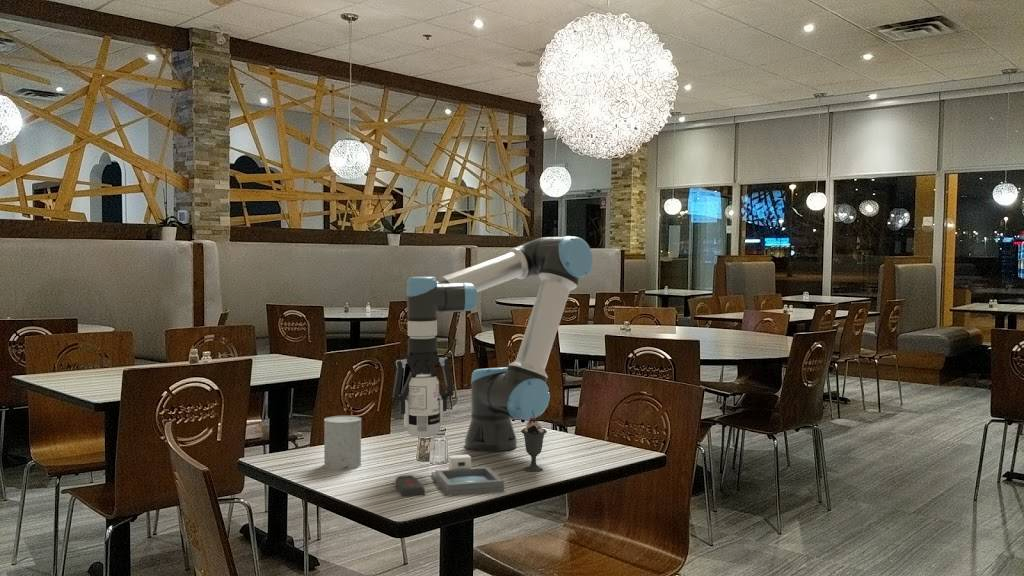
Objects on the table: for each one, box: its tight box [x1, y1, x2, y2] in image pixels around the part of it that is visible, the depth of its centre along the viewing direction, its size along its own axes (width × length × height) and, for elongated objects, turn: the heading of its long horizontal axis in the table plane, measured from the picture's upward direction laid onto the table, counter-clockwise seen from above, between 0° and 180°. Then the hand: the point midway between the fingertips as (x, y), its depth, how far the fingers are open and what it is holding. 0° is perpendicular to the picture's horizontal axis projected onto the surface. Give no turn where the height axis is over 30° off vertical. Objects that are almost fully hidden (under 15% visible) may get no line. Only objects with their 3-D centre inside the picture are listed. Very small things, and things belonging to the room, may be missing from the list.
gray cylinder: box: [323, 415, 362, 471], centre depth 213 cm, size 10×10×12 cm
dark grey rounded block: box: [394, 474, 426, 497], centre depth 191 cm, size 5×12×3 cm, turn 19°
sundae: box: [520, 411, 548, 473], centre depth 211 cm, size 7×7×15 cm
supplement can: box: [406, 373, 441, 438], centre depth 209 cm, size 8×8×15 cm
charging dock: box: [431, 454, 505, 496], centre depth 197 cm, size 14×18×5 cm
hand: (423, 424), depth 209 cm, fingers closed on supplement can, 8 cm apart
